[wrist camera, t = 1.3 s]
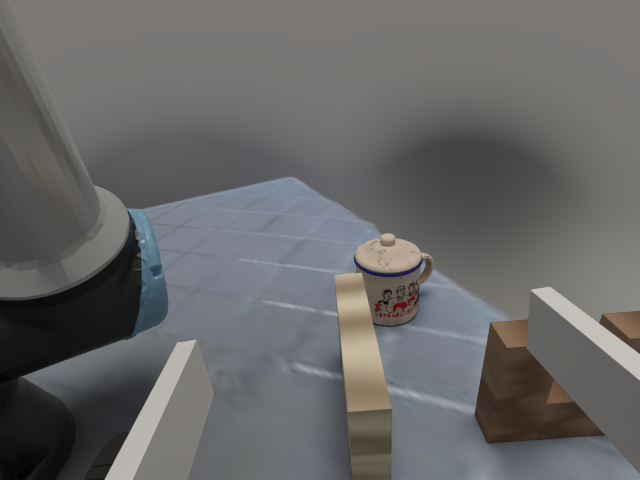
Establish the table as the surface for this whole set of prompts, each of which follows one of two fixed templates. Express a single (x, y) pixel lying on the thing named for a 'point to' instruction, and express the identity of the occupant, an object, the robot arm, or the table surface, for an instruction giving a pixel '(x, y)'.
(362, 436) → the birch board
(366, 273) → the teacup with lid
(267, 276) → the table surface
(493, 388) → the brown wooden u block
